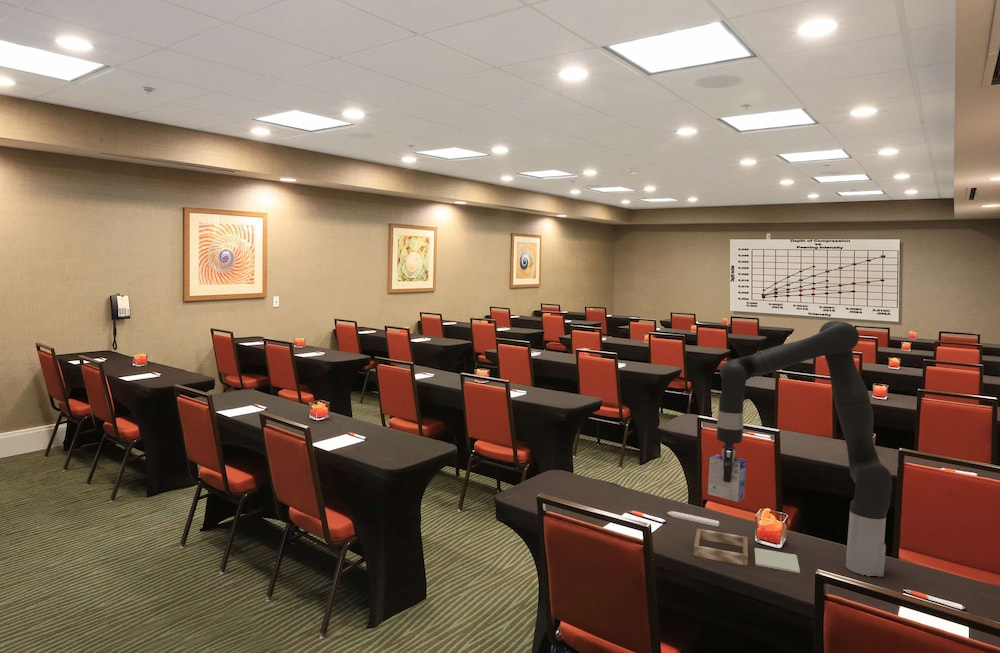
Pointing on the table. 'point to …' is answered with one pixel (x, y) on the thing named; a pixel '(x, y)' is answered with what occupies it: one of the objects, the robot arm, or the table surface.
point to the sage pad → (776, 560)
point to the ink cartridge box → (726, 489)
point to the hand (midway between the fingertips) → (727, 478)
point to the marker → (694, 518)
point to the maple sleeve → (721, 554)
